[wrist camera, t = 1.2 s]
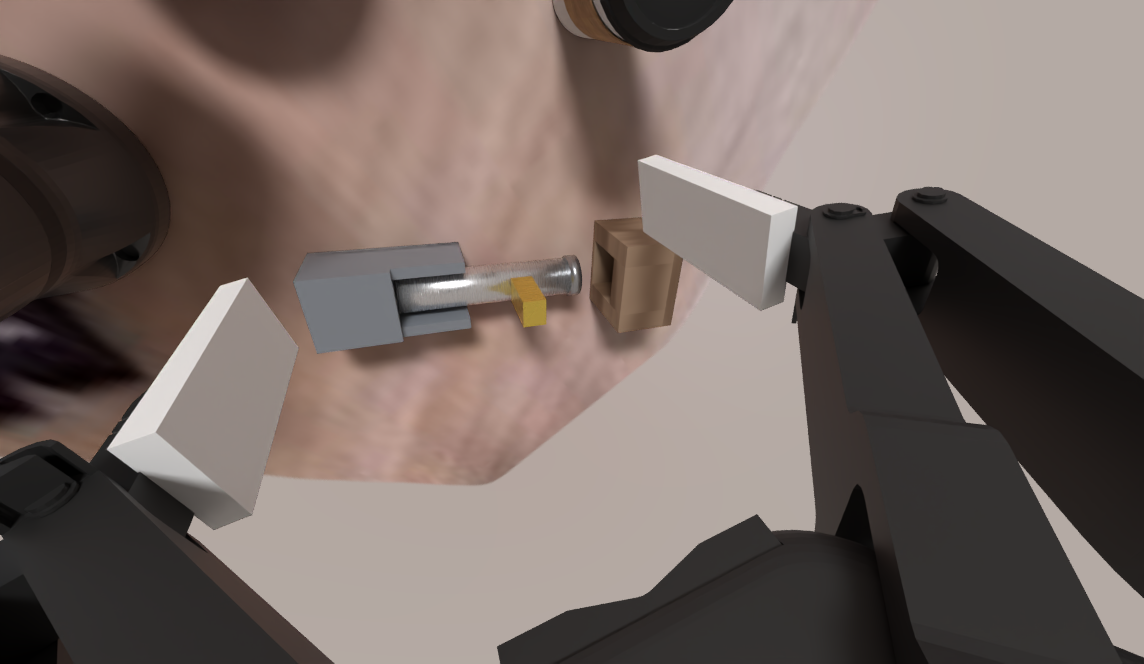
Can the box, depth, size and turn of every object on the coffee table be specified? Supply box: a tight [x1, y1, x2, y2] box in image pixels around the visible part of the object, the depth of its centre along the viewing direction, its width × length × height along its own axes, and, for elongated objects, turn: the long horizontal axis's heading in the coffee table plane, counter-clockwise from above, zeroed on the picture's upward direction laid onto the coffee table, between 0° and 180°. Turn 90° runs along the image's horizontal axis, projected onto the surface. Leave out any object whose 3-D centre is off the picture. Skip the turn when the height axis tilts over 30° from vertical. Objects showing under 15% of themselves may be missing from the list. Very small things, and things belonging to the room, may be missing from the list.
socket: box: [590, 218, 683, 333], centre depth 44 cm, size 6×9×8 cm, turn 178°
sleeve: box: [293, 242, 471, 354], centre depth 38 cm, size 13×7×6 cm, turn 88°
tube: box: [392, 255, 582, 327], centre depth 38 cm, size 22×4×9 cm, turn 88°
